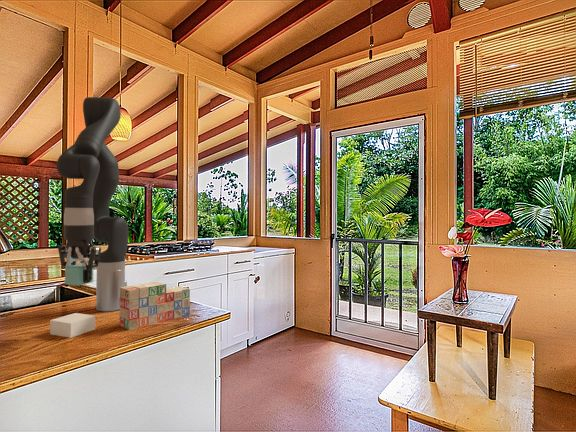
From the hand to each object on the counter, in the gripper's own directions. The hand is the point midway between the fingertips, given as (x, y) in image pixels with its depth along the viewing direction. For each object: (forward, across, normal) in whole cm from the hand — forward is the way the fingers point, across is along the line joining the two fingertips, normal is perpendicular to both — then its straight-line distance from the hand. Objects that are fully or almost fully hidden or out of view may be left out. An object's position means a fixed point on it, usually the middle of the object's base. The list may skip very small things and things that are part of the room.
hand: (79, 281), depth 101 cm
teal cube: (0, 0, 0) cm, 1 cm away
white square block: (+15, +2, +1) cm, 15 cm away
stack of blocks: (+16, -14, -17) cm, 27 cm away
